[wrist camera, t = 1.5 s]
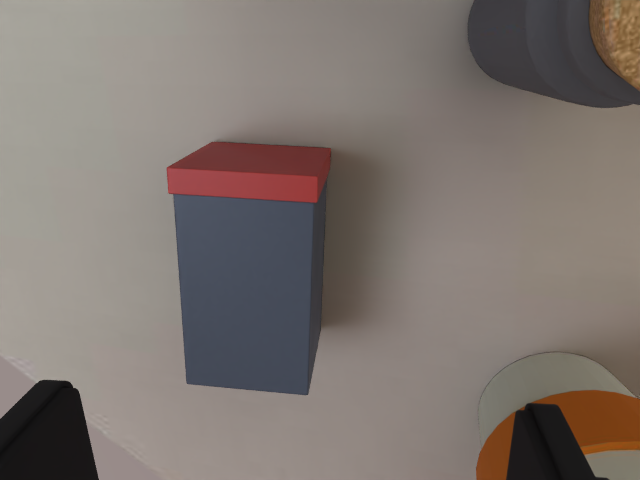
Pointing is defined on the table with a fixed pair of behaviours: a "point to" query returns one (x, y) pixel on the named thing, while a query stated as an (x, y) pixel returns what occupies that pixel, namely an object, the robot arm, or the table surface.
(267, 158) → the red-lidded grey box
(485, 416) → the reusable coffee cup
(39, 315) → the table surface
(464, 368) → the table surface
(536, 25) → the bottle
